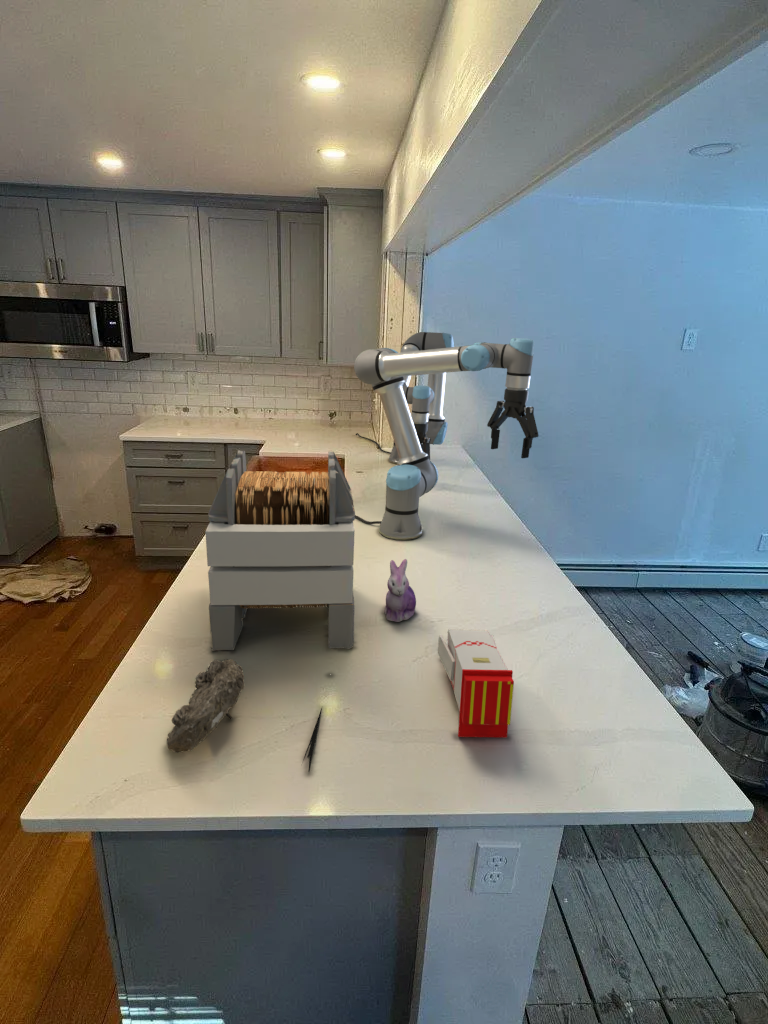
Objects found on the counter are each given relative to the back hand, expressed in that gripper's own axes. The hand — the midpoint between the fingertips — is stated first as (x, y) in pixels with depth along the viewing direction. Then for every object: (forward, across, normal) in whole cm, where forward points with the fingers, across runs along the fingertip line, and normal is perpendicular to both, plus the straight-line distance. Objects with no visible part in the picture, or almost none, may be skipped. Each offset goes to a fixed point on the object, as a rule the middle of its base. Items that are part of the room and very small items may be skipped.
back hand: (416, 472), depth 254 cm
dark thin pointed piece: (+6, -112, +113) cm, 159 cm away
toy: (+6, -121, +82) cm, 147 cm away
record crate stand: (+6, -73, +100) cm, 124 cm away
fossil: (+6, -100, +130) cm, 164 cm away
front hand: (-25, -65, +14) cm, 71 cm away
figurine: (+6, -88, +76) cm, 116 cm away
